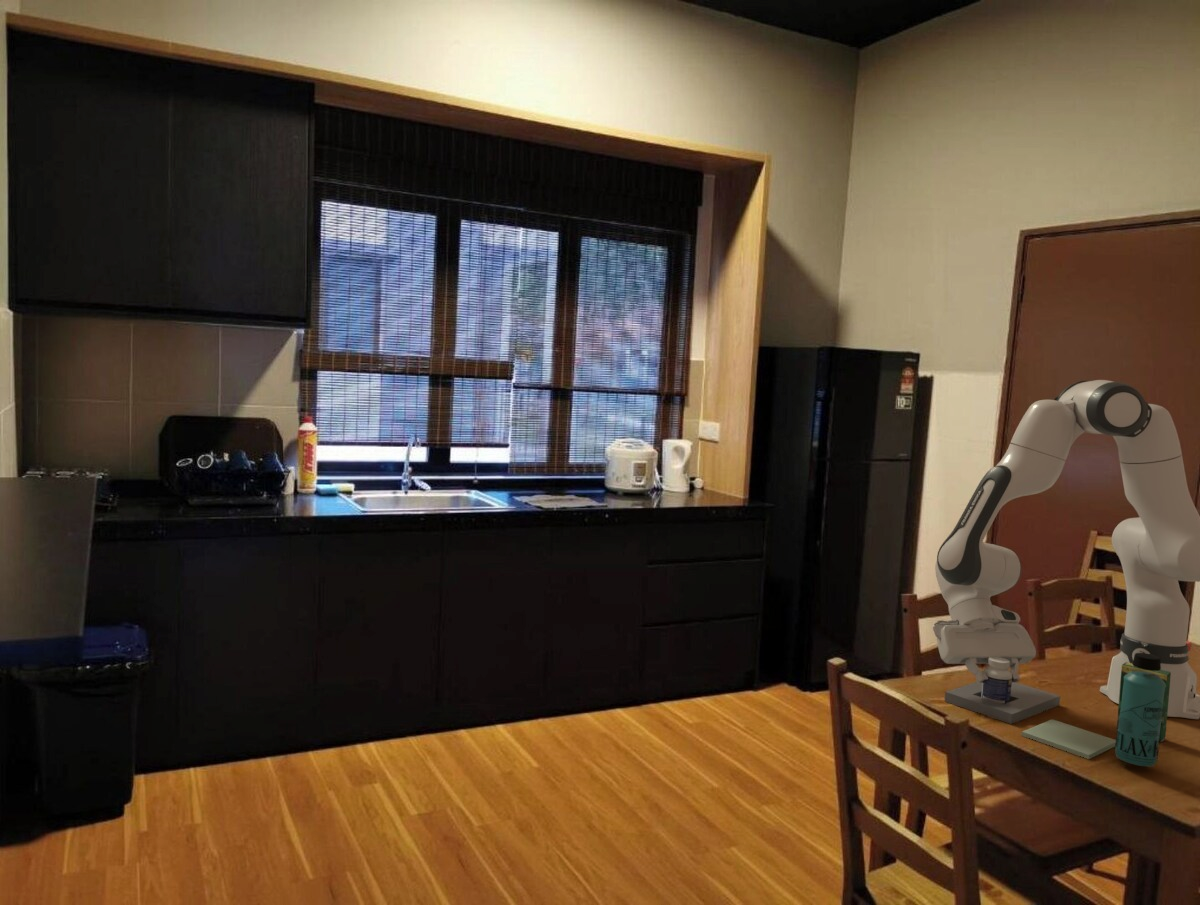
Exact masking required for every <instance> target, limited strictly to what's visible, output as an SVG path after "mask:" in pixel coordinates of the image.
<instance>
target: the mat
mask: <svg viewBox="0 0 1200 905" xmlns="http://www.w3.org/2000/svg"><path fill="white" fill-rule="evenodd" d="M1021 737H1024V738H1027V739H1029V738H1030V740H1032V739H1033V741H1035V740H1036V742H1038V743H1041V744H1043V745H1046V744H1047V746H1049V745H1050V746H1049V747H1052V746H1053V748H1055V749H1057V750H1058V749H1059V750H1060V751H1064V752H1066V751H1067V752H1066V753H1070V754H1073V755H1075V756H1078V757H1080V756H1081V758H1083V757H1084V759H1086V760H1090V759H1093V758H1094V757H1096V756H1099V755H1101V754H1102V753H1104V752H1107V751H1109V750H1110V749H1112V748H1116V746H1115V744H1116V741H1115V740H1116V739H1113V738H1111V737H1107V736H1105V735H1101V734H1099V733H1095V732H1092V731H1090V730H1085V729H1083V728H1080V727H1077V726H1074V725H1071V724H1067V723H1065V722H1062V721H1058V720H1056V719H1049V720H1047V721H1045V722H1042V723H1039V724H1038V725H1037V724H1036V725H1035V726H1032V727H1030V728H1028V729H1025V730H1023V731H1022V730H1021Z"/></svg>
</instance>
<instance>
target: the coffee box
mask: <svg viewBox="0 0 1200 905" xmlns="http://www.w3.org/2000/svg"><path fill="white" fill-rule="evenodd" d="M1132 671H1144V672H1149V673H1153V674H1156V675H1158V676H1159V677H1160V678H1161V679H1162V680H1163V681H1164V683H1165V684H1166V687H1165V692H1164V700H1163V708H1164V709H1163V711H1162V712H1163V713H1162V717H1163V718H1162V719H1161V727H1160V732H1161V733H1160V735H1159V743H1162V742H1163V741H1165V739H1166V733H1167V722H1168V716H1167V712H1168V702H1169V689H1170V677H1171V672H1169V671H1165V670H1159V671H1151V670H1145V669H1141V668H1138V667H1135V666H1134V665H1133V664H1132V663H1127V662H1125V663H1124V664H1122V669H1121V680H1120V694H1119V704H1118V708H1117V710H1118V711H1117V721H1116V731H1118V724H1119V716H1120V714H1119V713H1120V710H1121V701H1122V693H1123V684H1124V676H1125V675H1126V674H1128V673H1130V672H1132ZM1117 723H1118V724H1117Z"/></svg>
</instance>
